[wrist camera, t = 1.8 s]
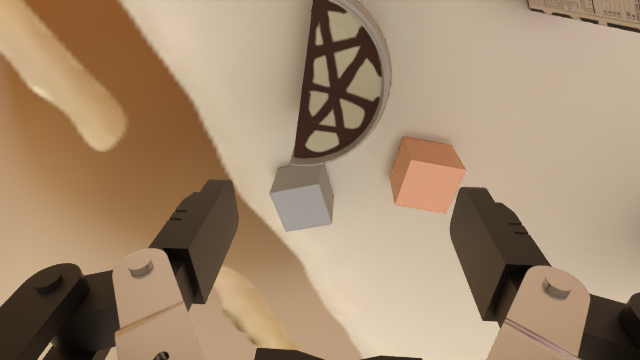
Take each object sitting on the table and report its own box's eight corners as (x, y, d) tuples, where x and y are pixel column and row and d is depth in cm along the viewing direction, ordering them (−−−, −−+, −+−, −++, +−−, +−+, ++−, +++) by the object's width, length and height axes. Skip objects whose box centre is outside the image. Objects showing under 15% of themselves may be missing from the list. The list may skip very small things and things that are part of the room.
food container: (364, 130, 33) (369, 185, 25) (304, 120, 33) (288, 171, 25) (398, -8, 27) (421, 1, 18) (323, -22, 27) (311, -19, 18)
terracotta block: (451, 145, 34) (466, 170, 29) (434, 185, 36) (445, 213, 32) (403, 136, 33) (411, 159, 29) (389, 177, 36) (394, 204, 32)
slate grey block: (322, 158, 35) (318, 183, 31) (333, 196, 38) (331, 224, 34) (278, 167, 36) (269, 193, 32) (292, 203, 39) (285, 231, 35)
